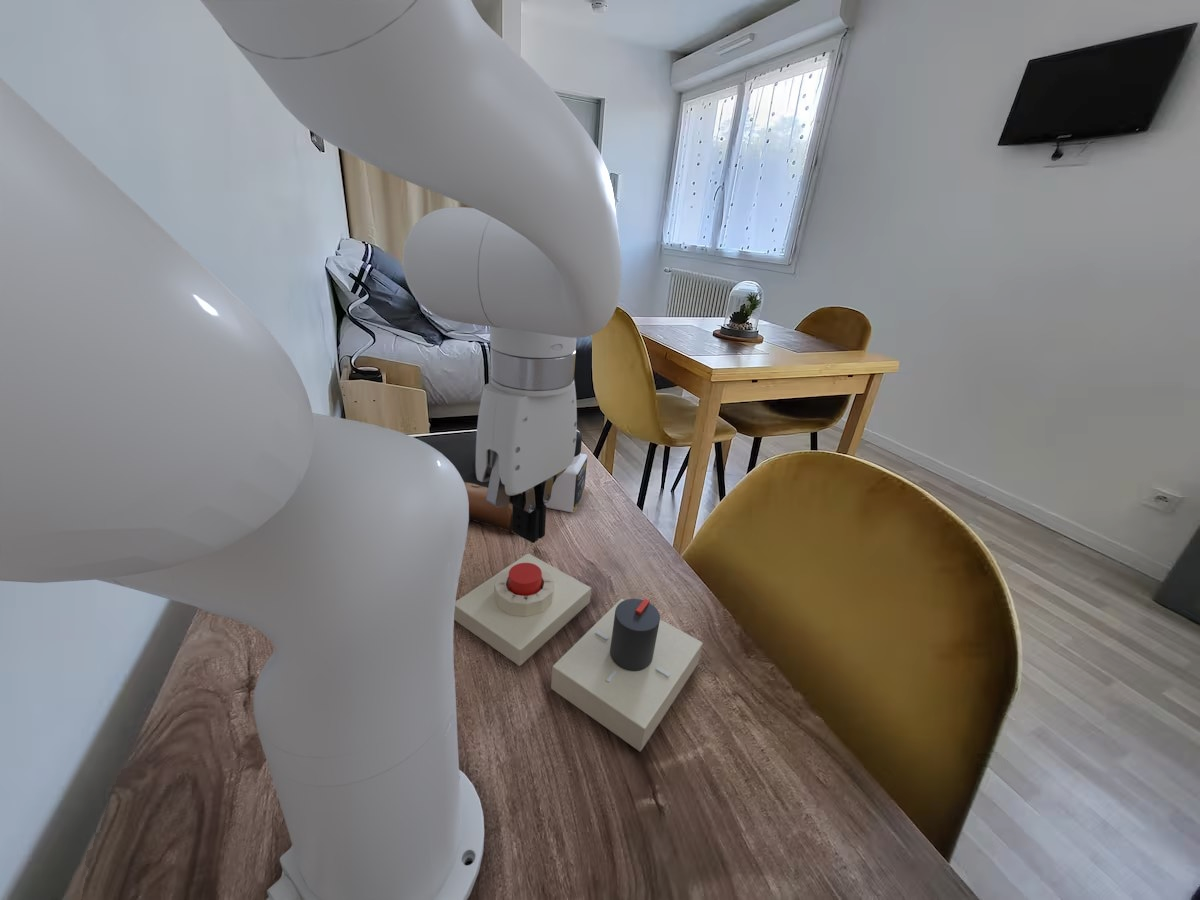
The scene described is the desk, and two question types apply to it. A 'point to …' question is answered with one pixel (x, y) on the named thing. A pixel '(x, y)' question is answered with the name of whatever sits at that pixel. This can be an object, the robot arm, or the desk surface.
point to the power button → (525, 579)
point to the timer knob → (634, 634)
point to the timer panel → (625, 679)
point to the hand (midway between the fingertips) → (528, 534)
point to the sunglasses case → (487, 508)
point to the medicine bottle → (570, 482)
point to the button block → (521, 610)
